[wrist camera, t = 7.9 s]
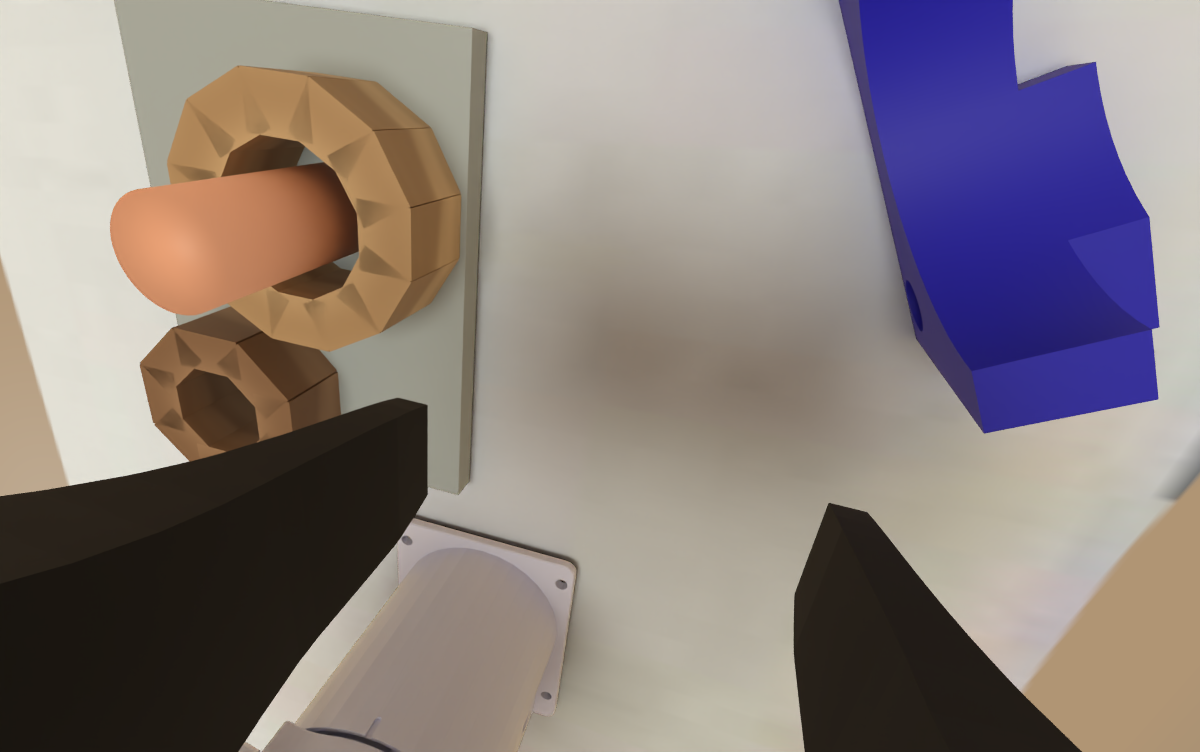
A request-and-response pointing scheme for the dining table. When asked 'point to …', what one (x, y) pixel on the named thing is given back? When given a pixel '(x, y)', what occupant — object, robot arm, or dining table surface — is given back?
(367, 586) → the dining table surface
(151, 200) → the orange rounded peg
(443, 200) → the oak bead
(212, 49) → the board
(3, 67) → the dining table surface
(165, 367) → the walnut bead
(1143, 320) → the blue curved cradle
